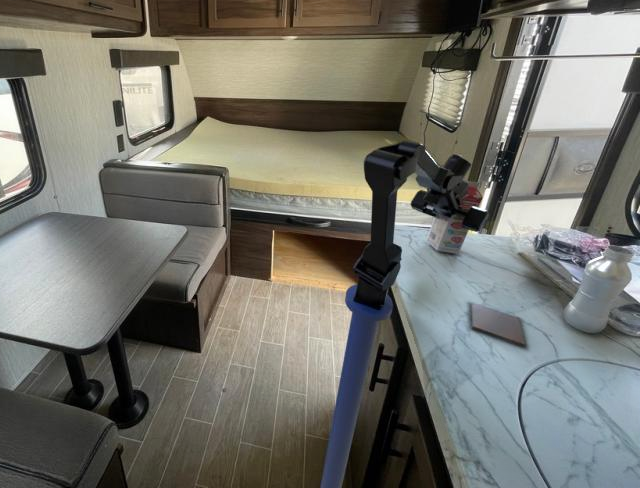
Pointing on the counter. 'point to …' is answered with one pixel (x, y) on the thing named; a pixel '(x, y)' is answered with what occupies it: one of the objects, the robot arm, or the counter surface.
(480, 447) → the counter surface
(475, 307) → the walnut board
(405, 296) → the counter surface
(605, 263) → the plastic bottle
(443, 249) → the juice carton
